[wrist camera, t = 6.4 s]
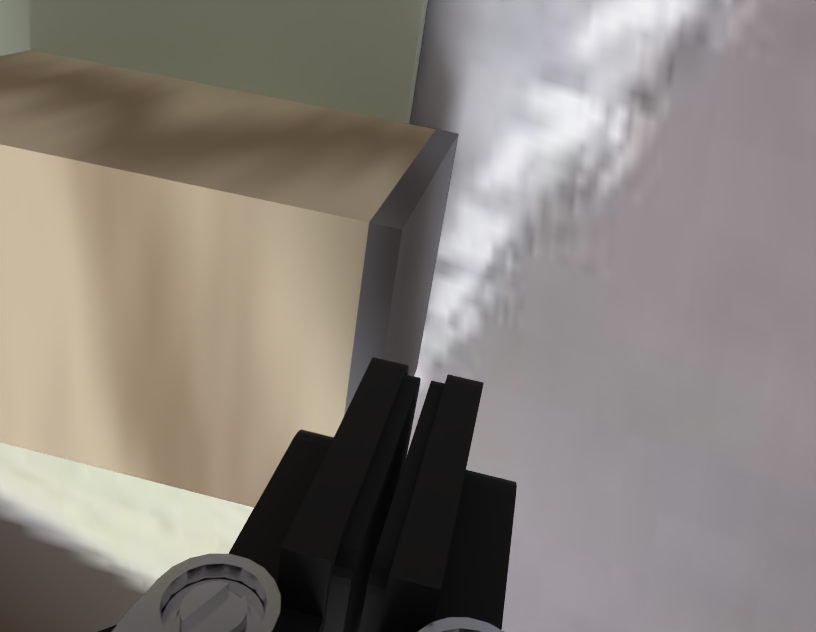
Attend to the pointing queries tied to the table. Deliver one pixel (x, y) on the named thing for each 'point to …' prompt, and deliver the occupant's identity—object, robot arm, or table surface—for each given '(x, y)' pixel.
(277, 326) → the maple block
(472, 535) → the robot arm
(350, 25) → the rubber mat
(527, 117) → the table surface
